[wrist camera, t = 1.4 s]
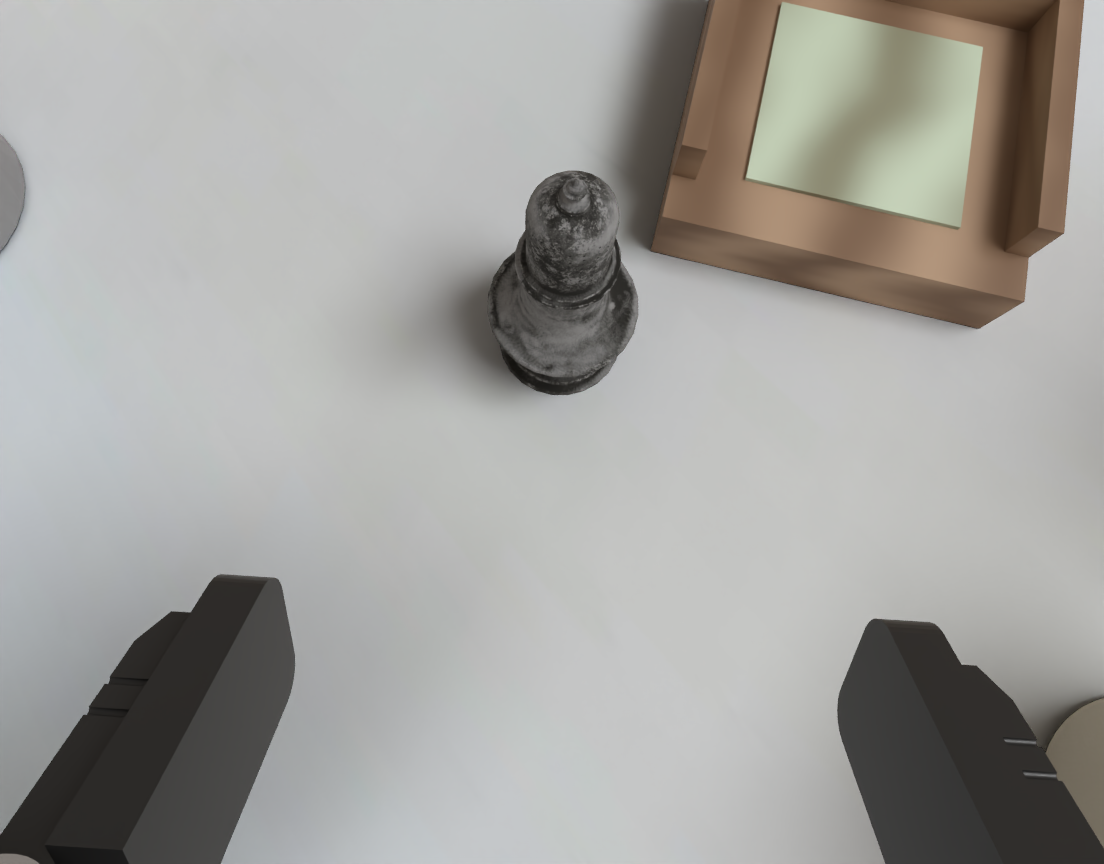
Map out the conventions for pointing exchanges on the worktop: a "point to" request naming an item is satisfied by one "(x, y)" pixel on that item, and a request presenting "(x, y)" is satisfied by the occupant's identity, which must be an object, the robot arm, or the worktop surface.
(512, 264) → the salt shaker
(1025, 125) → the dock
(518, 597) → the worktop surface
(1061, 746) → the travel mug
